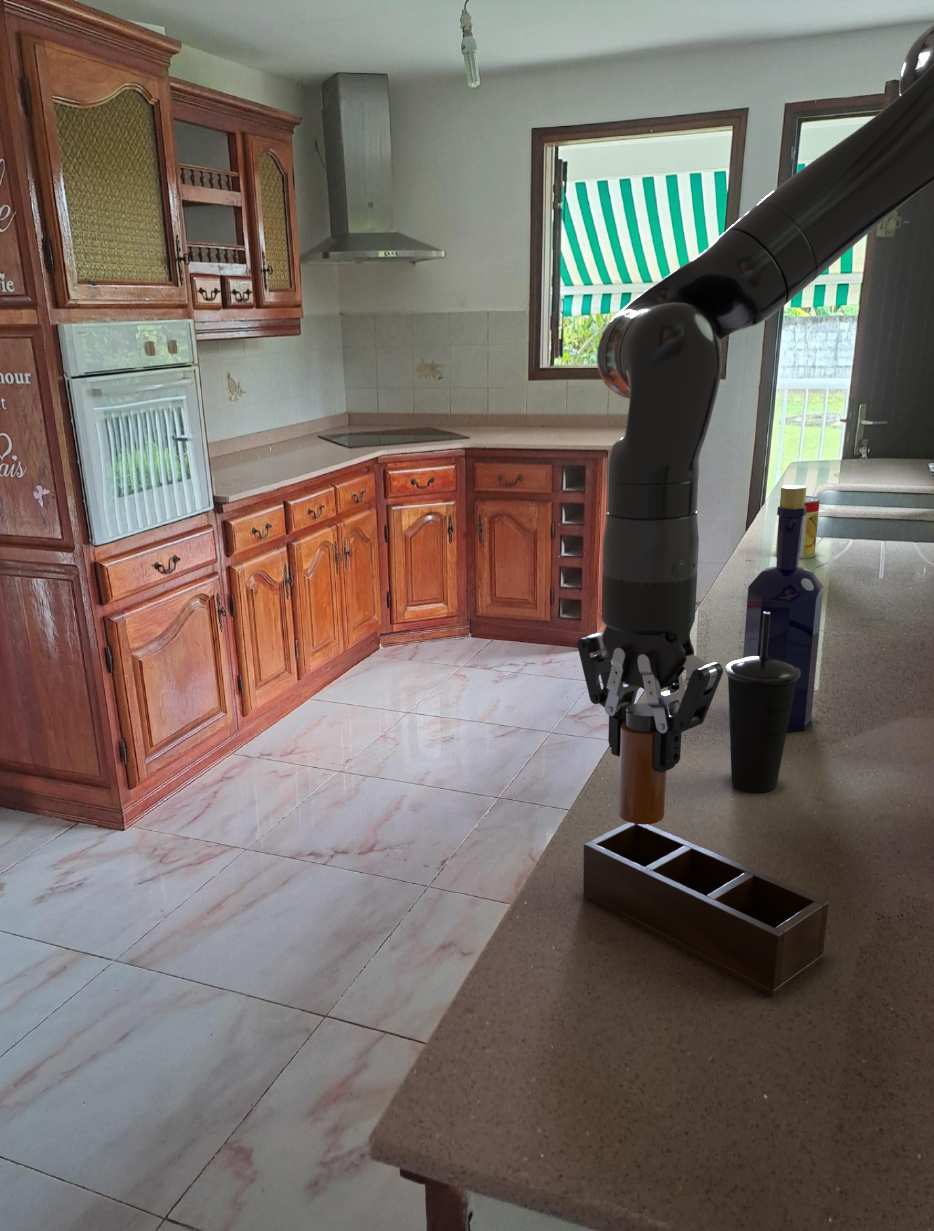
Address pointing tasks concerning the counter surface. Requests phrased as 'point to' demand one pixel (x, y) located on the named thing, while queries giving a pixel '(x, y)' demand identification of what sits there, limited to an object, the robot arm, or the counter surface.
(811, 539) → the canned food
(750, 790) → the drinking cup
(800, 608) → the bottle
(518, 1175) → the counter surface
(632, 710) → the spice bottle
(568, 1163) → the counter surface
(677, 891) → the holder
